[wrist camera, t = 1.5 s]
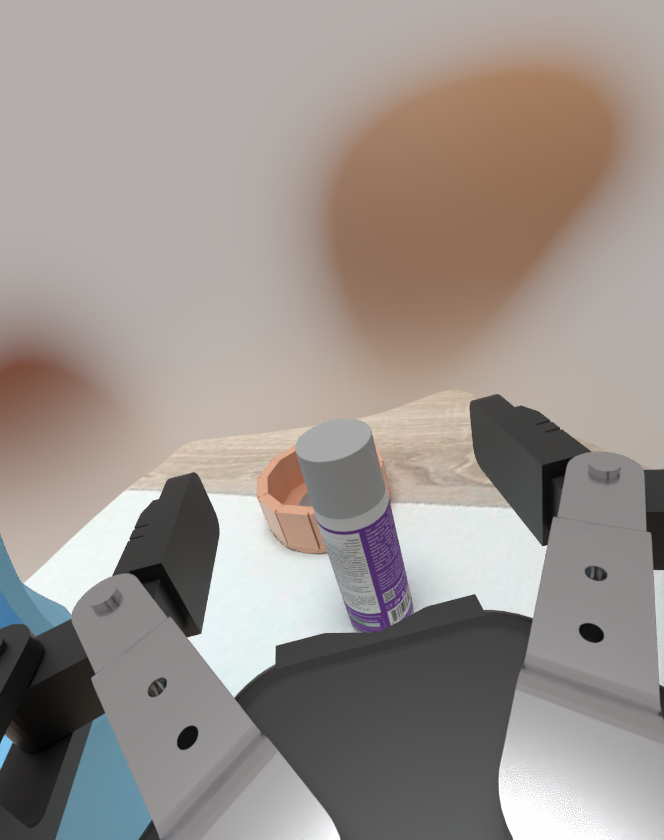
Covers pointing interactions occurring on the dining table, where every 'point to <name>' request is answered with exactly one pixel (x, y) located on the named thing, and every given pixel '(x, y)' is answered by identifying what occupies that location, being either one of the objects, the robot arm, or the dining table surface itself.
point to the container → (356, 521)
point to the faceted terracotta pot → (292, 503)
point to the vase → (102, 757)
